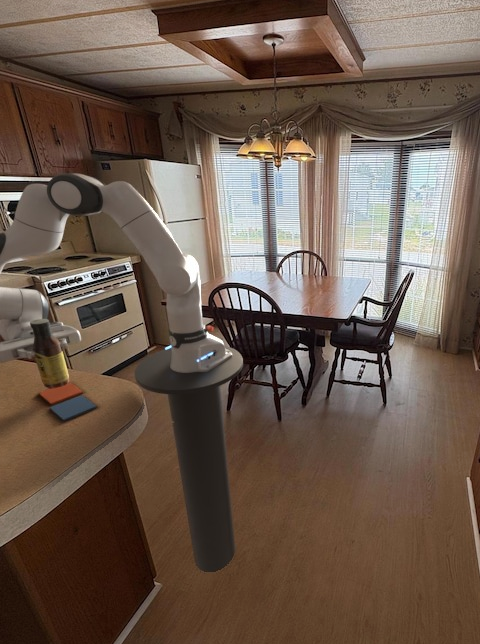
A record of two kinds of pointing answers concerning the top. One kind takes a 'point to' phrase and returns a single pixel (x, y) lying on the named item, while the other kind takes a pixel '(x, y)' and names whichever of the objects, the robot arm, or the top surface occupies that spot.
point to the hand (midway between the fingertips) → (49, 351)
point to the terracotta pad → (60, 393)
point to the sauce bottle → (49, 355)
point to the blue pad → (73, 407)
